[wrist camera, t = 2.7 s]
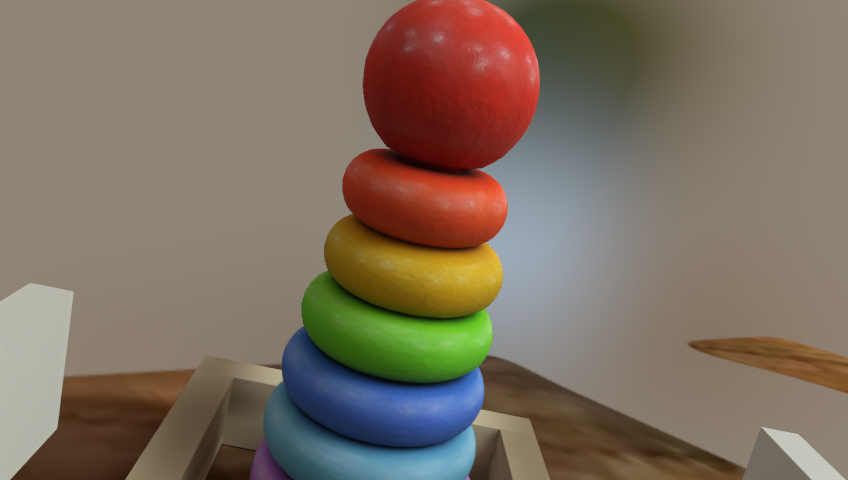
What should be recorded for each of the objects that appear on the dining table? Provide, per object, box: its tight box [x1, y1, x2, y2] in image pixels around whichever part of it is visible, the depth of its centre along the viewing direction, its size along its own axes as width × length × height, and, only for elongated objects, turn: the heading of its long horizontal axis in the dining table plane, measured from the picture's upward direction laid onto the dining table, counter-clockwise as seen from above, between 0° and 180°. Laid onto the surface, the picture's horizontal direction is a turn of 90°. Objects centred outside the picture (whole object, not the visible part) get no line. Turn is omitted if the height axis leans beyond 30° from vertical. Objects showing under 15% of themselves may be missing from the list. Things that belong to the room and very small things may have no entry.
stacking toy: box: [250, 0, 540, 480], centre depth 24 cm, size 8×8×19 cm
